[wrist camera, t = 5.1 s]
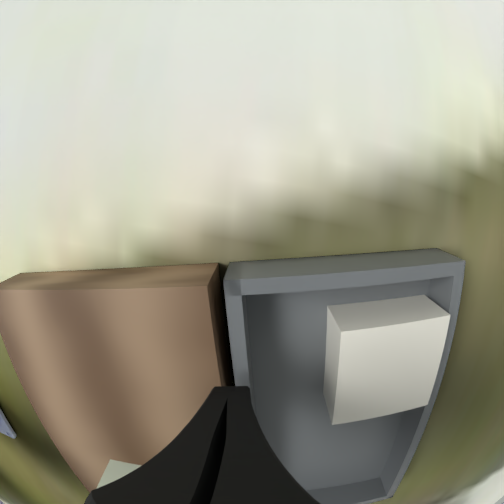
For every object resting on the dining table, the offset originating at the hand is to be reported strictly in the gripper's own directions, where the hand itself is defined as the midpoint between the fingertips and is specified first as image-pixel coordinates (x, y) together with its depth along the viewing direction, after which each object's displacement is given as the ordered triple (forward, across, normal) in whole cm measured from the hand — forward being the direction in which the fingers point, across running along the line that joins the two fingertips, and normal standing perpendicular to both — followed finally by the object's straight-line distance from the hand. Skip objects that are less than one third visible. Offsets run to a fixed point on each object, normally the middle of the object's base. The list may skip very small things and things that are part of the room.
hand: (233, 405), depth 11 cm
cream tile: (+1, -7, 0) cm, 7 cm away
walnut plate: (+4, +6, +4) cm, 9 cm away
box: (+4, -5, +4) cm, 8 cm away
